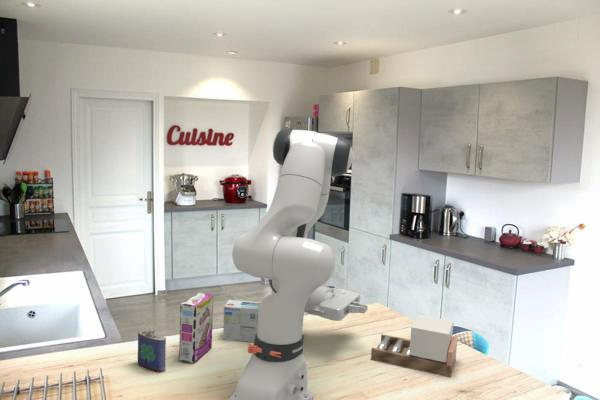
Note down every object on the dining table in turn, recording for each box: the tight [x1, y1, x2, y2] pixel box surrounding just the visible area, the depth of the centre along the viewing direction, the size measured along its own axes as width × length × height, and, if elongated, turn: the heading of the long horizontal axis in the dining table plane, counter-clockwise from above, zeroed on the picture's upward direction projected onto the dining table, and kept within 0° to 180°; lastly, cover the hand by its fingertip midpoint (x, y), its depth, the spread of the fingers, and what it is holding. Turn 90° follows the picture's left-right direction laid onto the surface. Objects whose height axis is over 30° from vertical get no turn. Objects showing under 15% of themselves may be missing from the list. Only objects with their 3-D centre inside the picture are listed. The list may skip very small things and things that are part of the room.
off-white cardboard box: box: [409, 314, 455, 363], centre depth 141 cm, size 10×11×8 cm
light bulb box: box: [222, 299, 261, 343], centre depth 154 cm, size 11×7×11 cm, turn 84°
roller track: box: [370, 334, 459, 378], centre depth 144 cm, size 22×12×7 cm, turn 66°
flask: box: [137, 328, 167, 373], centre depth 132 cm, size 9×3×11 cm, turn 61°
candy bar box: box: [178, 292, 214, 365], centre depth 140 cm, size 11×5×16 cm, turn 164°
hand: (366, 309), depth 147 cm, fingers closed
